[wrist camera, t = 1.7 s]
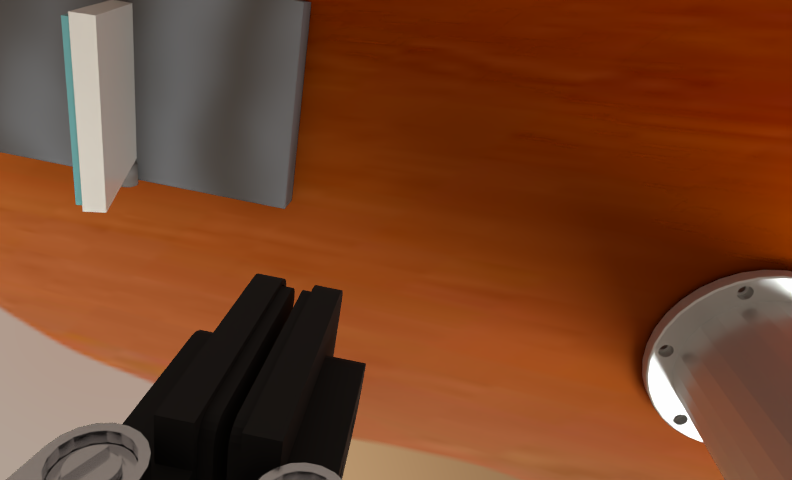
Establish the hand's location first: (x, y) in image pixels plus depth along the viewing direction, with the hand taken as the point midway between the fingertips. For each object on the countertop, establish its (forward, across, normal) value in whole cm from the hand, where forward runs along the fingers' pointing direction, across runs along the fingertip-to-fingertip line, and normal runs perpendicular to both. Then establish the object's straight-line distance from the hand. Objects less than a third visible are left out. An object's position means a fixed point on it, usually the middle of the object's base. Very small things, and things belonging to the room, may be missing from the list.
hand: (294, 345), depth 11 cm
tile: (+15, +12, 0) cm, 20 cm away
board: (+21, +14, 0) cm, 25 cm away
